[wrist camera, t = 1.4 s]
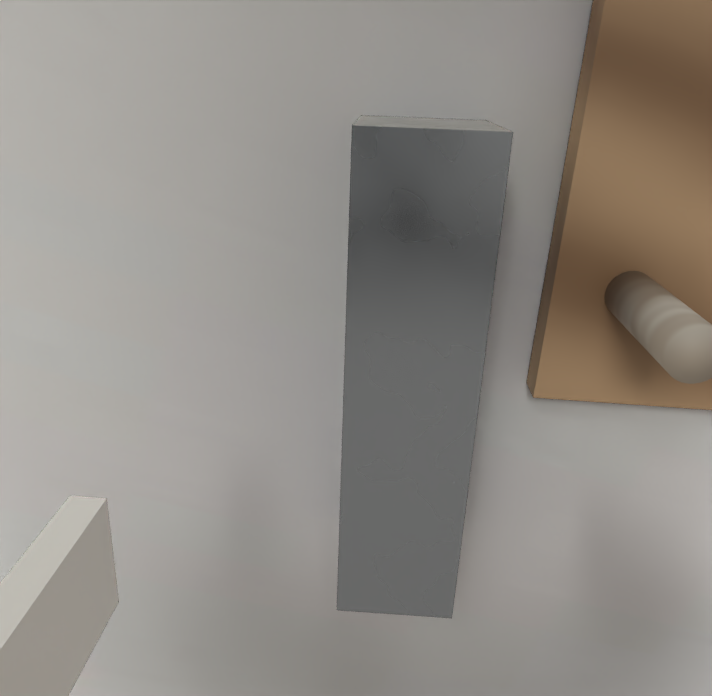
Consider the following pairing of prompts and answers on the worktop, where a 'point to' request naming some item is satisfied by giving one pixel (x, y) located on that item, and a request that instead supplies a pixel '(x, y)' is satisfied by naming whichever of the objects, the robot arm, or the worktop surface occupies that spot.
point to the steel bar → (414, 352)
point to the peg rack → (634, 216)
